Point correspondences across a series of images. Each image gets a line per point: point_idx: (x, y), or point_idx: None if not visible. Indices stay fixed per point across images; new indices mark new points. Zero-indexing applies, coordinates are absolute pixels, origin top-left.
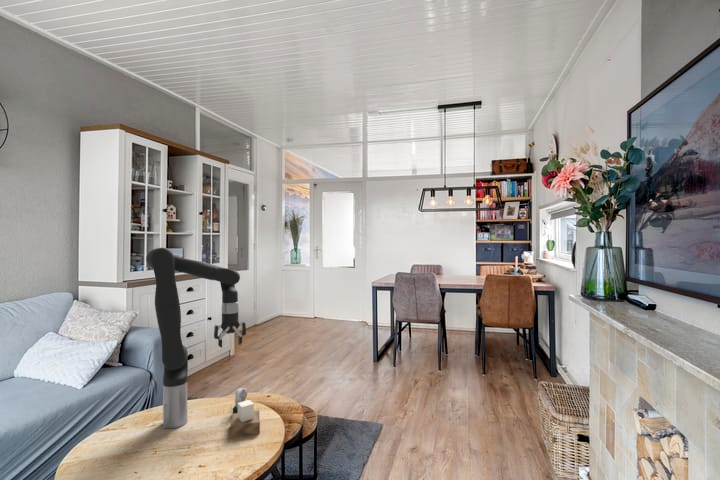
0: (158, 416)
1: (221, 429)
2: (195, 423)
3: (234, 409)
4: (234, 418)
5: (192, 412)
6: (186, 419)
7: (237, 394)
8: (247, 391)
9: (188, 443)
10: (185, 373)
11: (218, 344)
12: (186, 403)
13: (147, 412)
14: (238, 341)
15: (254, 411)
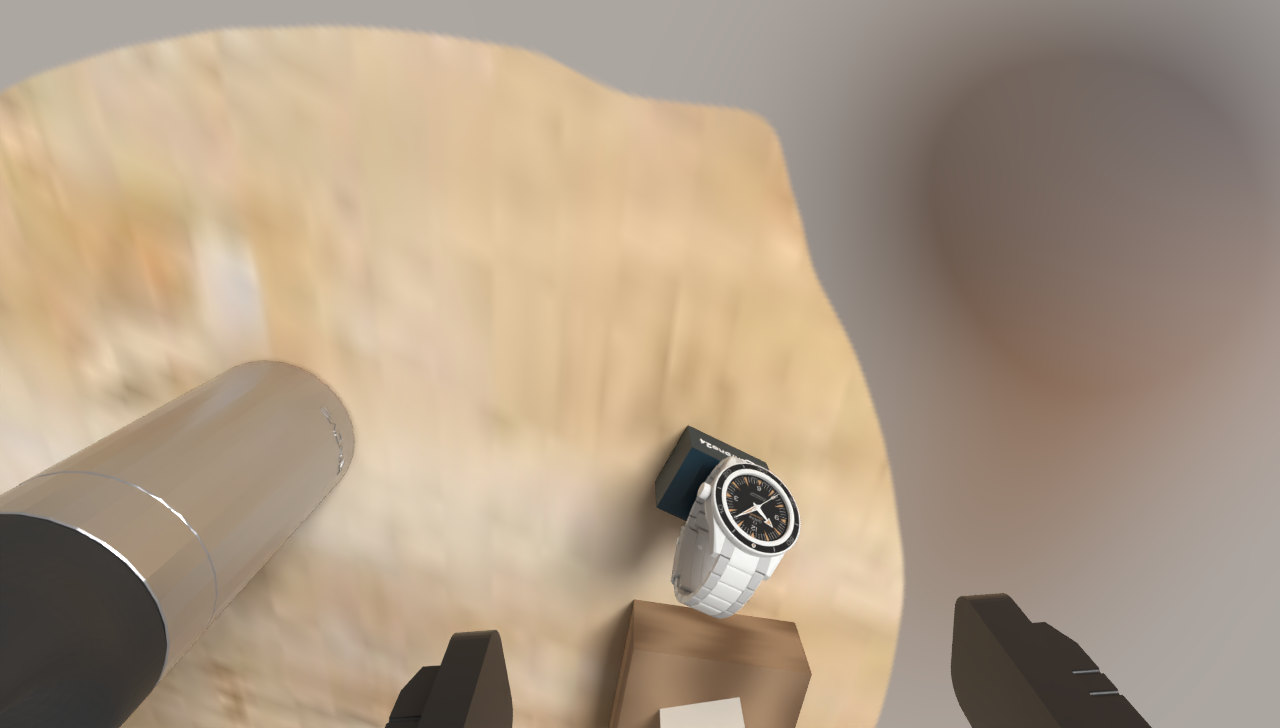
0: (126, 255)
1: (567, 626)
2: (412, 487)
3: (668, 509)
4: (638, 712)
5: (377, 301)
6: (342, 469)
7: (695, 608)
8: (795, 532)
9: (391, 693)
10: (74, 712)
11: (401, 723)
12: (286, 530)
13: (8, 128)
14: (993, 667)
15: (778, 677)
